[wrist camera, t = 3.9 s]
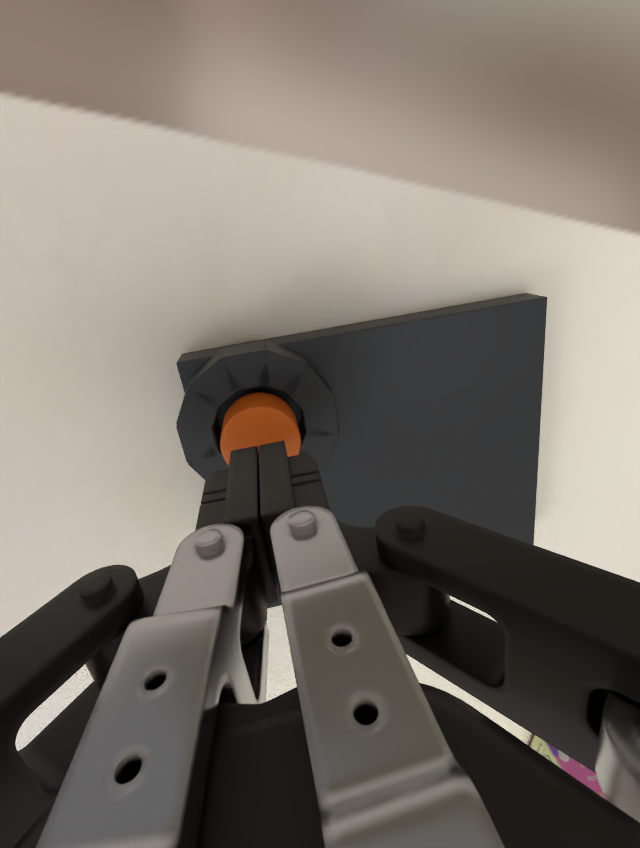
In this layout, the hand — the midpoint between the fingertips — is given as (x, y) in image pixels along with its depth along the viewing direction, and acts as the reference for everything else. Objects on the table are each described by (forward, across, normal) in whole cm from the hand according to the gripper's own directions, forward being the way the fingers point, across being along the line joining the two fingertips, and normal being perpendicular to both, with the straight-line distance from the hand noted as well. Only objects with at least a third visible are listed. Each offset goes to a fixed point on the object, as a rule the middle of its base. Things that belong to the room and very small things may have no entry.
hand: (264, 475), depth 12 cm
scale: (+6, -4, +4) cm, 8 cm away
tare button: (+4, 0, 0) cm, 4 cm away
